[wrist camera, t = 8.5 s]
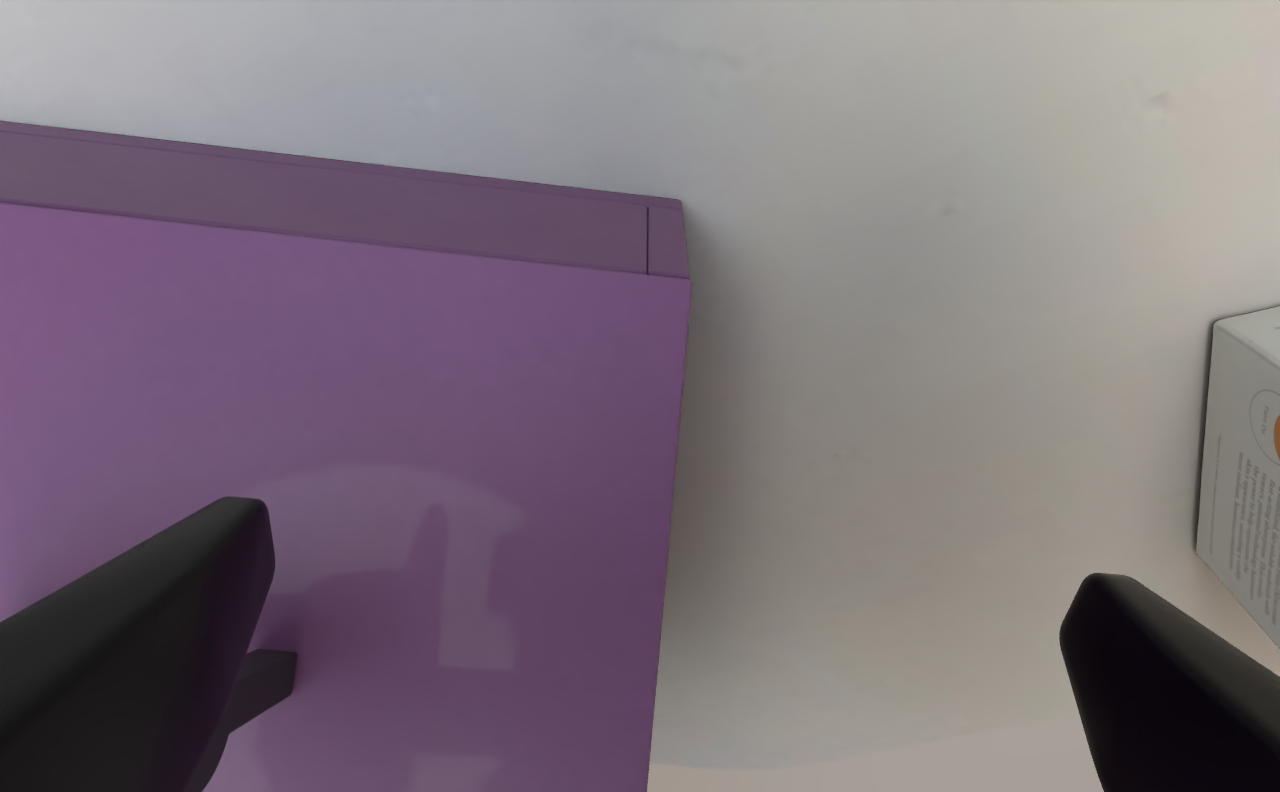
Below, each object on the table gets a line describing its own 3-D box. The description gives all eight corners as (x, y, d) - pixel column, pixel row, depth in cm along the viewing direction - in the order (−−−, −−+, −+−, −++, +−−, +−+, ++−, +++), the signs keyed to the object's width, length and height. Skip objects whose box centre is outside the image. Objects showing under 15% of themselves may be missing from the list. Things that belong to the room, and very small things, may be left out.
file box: (621, 617, 27) (617, 748, 23) (84, 569, 26) (-24, 695, 22) (681, 199, 20) (690, 275, 16) (-45, 114, 19) (-237, 172, 15)
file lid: (612, 1140, 14) (626, 1490, 9) (-463, 1075, 13) (-1106, 1421, 8) (689, 287, 16) (736, 186, 11) (-238, 184, 15) (-645, 24, 10)
